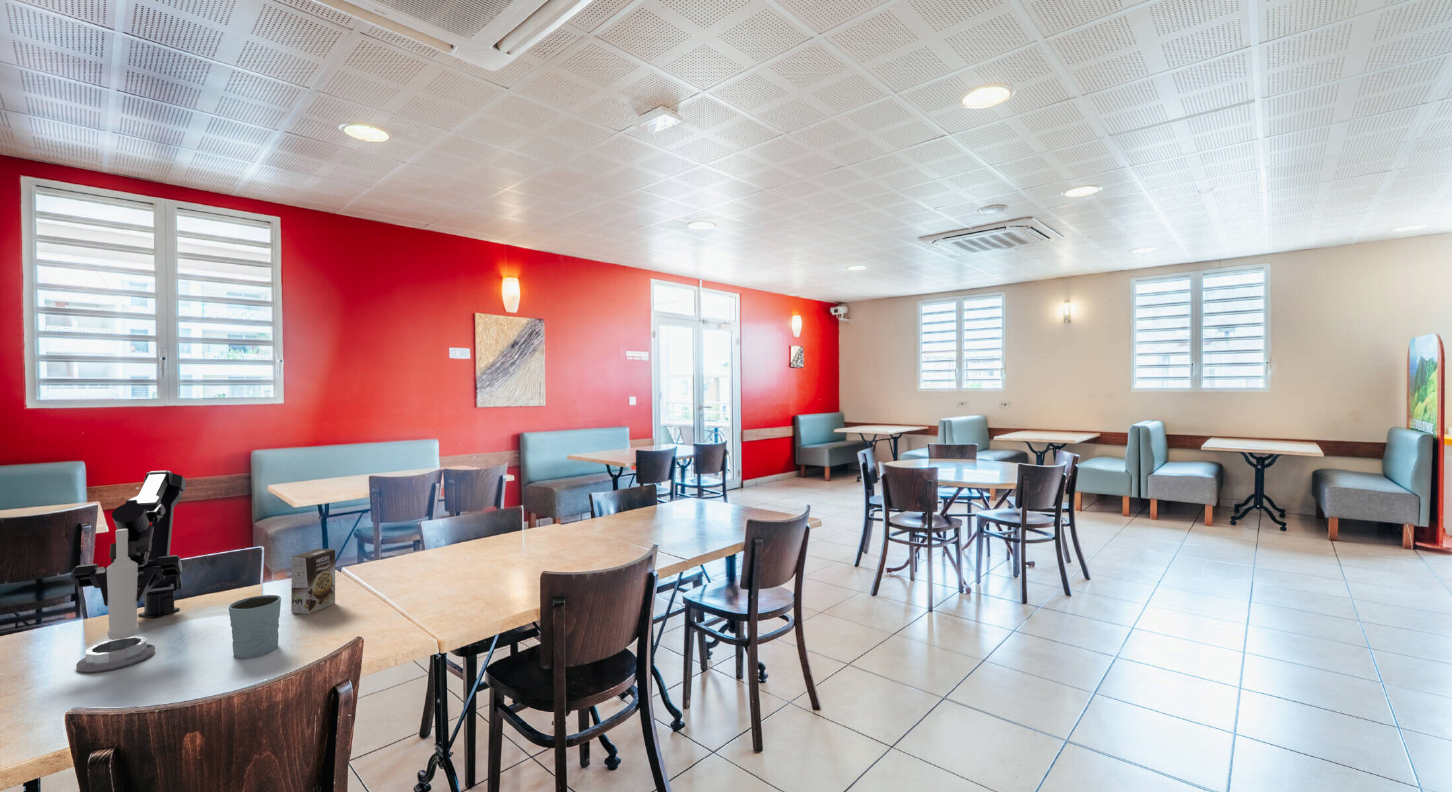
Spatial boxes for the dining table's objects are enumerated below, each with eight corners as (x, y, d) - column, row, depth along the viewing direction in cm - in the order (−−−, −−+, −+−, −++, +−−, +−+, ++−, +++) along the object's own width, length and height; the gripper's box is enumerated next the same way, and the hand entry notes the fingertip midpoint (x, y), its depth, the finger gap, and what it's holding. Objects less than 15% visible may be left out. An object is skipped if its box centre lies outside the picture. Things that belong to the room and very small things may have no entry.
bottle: (101, 640, 140) (99, 532, 140) (121, 631, 145) (119, 527, 145) (125, 639, 141) (123, 532, 140) (144, 630, 146) (143, 526, 145)
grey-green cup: (239, 663, 141) (239, 612, 141) (221, 653, 146) (221, 603, 146) (289, 647, 150) (288, 599, 149) (270, 638, 155) (270, 591, 155)
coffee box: (309, 614, 171) (309, 557, 170) (290, 612, 172) (290, 556, 172) (336, 603, 180) (336, 549, 179) (318, 601, 181) (317, 547, 181)
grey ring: (61, 669, 138) (60, 654, 137) (129, 645, 150) (129, 631, 150) (103, 676, 135) (103, 660, 134) (169, 651, 147) (169, 636, 147)
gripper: (72, 532, 141) (55, 593, 133) (179, 522, 151) (169, 579, 143) (85, 557, 148) (69, 617, 139) (186, 546, 158) (177, 602, 149)
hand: (122, 603), depth 142 cm, fingers closed on bottle, 5 cm apart
